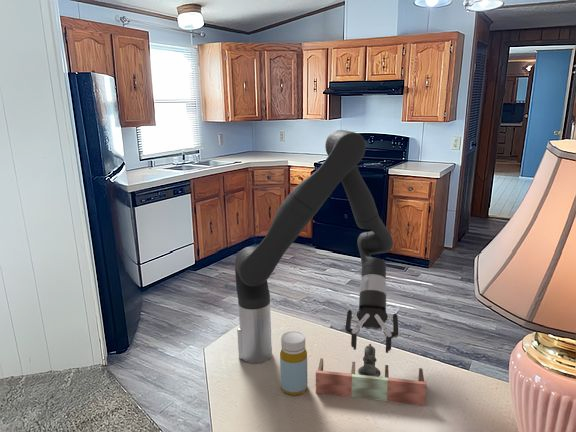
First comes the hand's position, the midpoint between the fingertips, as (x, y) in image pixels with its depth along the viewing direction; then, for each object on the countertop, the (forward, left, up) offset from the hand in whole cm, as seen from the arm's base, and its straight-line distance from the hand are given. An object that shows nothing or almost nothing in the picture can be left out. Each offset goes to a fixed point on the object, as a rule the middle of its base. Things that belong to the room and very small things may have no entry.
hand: (370, 350), depth 115 cm
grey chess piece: (0, -3, -8) cm, 9 cm away
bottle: (-20, -8, -8) cm, 23 cm away
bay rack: (0, -4, -8) cm, 9 cm away
